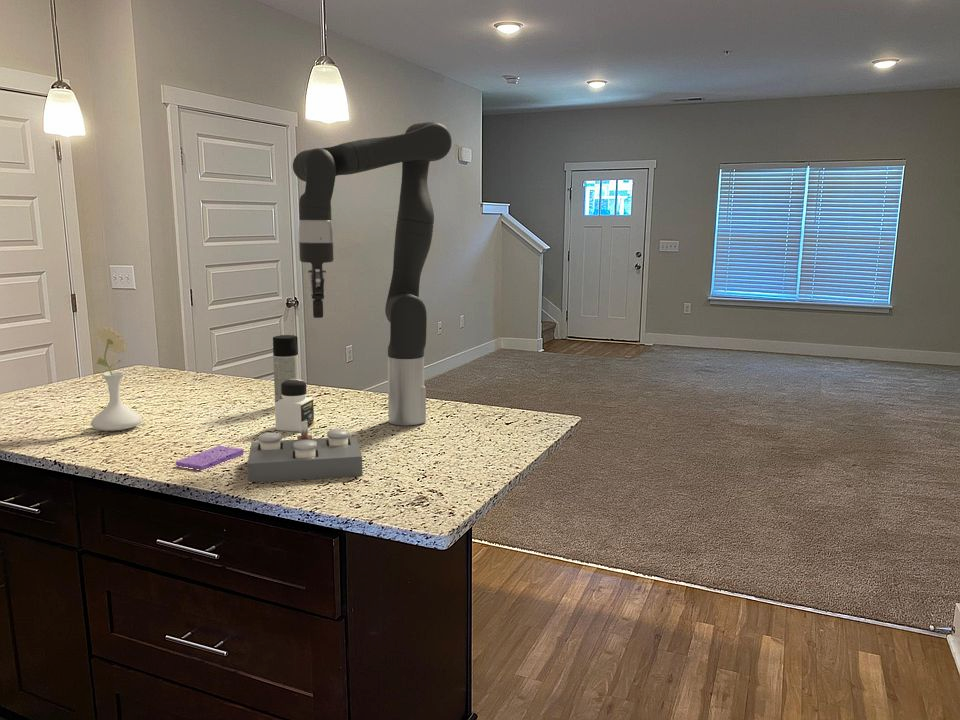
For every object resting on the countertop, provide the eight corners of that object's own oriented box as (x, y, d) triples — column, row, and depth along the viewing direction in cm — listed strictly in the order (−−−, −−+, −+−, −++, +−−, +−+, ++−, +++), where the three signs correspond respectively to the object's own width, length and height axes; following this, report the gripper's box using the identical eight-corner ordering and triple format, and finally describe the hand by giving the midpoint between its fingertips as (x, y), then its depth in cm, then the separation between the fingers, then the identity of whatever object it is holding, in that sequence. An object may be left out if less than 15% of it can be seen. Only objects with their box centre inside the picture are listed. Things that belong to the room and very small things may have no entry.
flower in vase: (150, 428, 179) (143, 328, 175) (101, 437, 171) (93, 332, 166) (129, 418, 188) (121, 323, 183) (81, 427, 180) (72, 326, 175)
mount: (356, 453, 161) (355, 436, 160) (362, 475, 146) (362, 456, 146) (252, 460, 155) (251, 442, 154) (248, 483, 141) (247, 463, 140)
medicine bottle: (302, 432, 177) (300, 384, 175) (275, 430, 178) (273, 382, 176) (314, 424, 184) (313, 378, 182) (288, 423, 185) (286, 377, 183)
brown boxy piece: (311, 441, 155) (311, 419, 154) (312, 445, 152) (311, 422, 151) (297, 442, 154) (296, 420, 154) (297, 446, 152) (296, 423, 151)
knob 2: (348, 454, 158) (348, 428, 157) (350, 460, 154) (349, 434, 153) (327, 455, 157) (326, 429, 156) (328, 462, 153) (327, 435, 152)
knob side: (317, 466, 150) (316, 439, 149) (317, 473, 146) (317, 445, 145) (294, 467, 149) (293, 440, 148) (294, 475, 145) (293, 447, 144)
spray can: (304, 405, 204) (302, 335, 200) (290, 411, 198) (288, 338, 194) (284, 403, 206) (281, 334, 202) (270, 409, 200) (267, 337, 196)
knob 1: (282, 458, 155) (281, 432, 154) (282, 465, 151) (281, 438, 150) (260, 459, 154) (259, 433, 153) (259, 466, 150) (258, 439, 149)
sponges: (244, 456, 159) (243, 448, 159) (201, 474, 148) (201, 465, 147) (219, 452, 162) (218, 444, 161) (175, 469, 150) (175, 460, 150)
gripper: (334, 241, 158) (336, 320, 161) (331, 240, 170) (333, 314, 173) (299, 241, 156) (301, 321, 159) (298, 240, 169) (301, 314, 172)
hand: (318, 317), depth 166 cm, fingers closed
